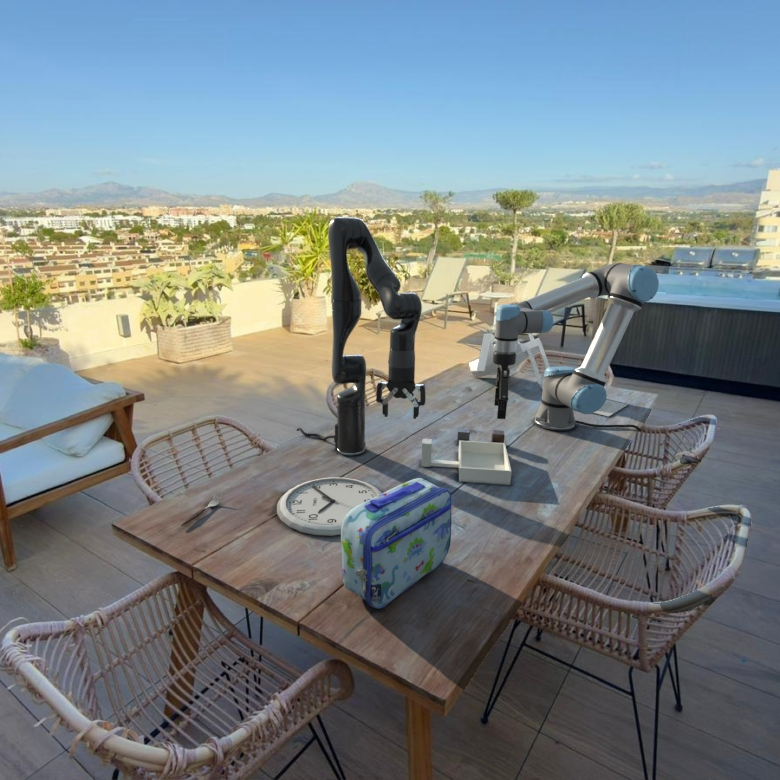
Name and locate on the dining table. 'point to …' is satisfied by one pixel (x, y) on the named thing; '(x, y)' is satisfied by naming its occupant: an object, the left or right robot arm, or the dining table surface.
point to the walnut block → (497, 436)
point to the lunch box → (395, 540)
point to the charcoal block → (463, 435)
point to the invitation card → (610, 408)
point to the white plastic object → (487, 366)
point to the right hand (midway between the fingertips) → (499, 411)
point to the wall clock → (323, 504)
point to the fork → (211, 504)
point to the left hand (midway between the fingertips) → (400, 417)
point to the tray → (475, 462)
